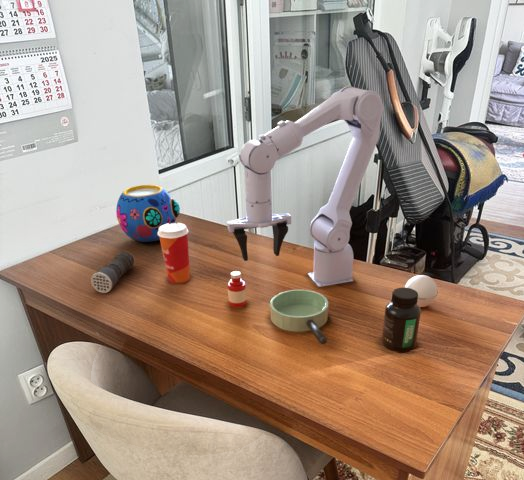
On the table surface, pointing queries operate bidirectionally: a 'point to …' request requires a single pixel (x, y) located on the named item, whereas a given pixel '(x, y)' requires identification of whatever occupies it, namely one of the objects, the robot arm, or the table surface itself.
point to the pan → (298, 309)
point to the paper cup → (175, 251)
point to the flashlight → (112, 272)
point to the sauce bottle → (236, 290)
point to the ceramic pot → (145, 211)
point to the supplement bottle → (401, 321)
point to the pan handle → (316, 332)
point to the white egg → (423, 289)
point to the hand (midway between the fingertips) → (260, 256)
